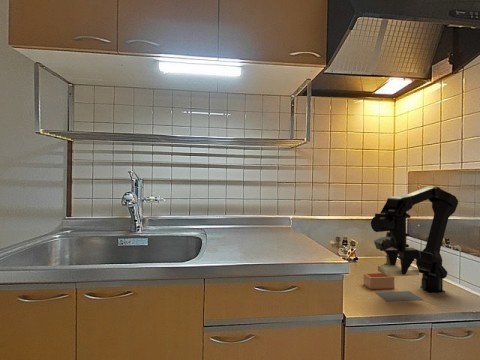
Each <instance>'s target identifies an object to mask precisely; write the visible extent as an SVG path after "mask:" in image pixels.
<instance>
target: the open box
mask: <svg viewBox="0 0 480 360" xmlns="http://www.w3.org/2000/svg"><path fill="white" fill-rule="evenodd" d="M363 285H364V286H366V287H367V288H368V289H369V290H385V289H386V290H388V289H395V276H386V275H384V274H383V273H381V272H364V273H363Z"/></svg>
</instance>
